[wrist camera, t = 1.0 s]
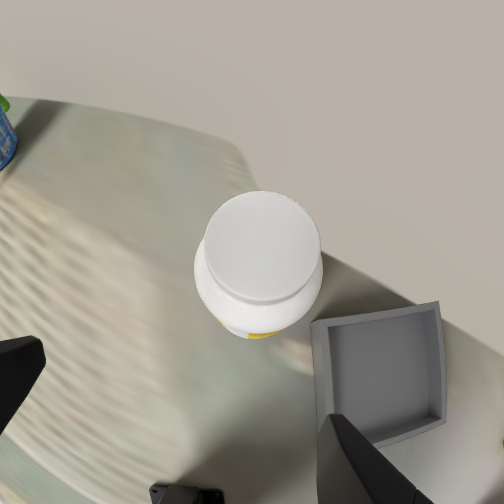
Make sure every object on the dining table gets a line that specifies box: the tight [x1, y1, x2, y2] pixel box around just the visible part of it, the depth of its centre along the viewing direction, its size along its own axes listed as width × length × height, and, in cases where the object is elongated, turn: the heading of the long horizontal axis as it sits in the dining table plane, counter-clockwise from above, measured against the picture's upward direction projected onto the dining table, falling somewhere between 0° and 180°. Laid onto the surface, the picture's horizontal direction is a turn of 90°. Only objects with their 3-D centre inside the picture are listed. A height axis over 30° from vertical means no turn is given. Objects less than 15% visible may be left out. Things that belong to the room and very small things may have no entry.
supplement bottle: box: [194, 191, 323, 339], centre depth 17 cm, size 7×7×13 cm
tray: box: [310, 301, 446, 449], centre depth 20 cm, size 11×11×3 cm
